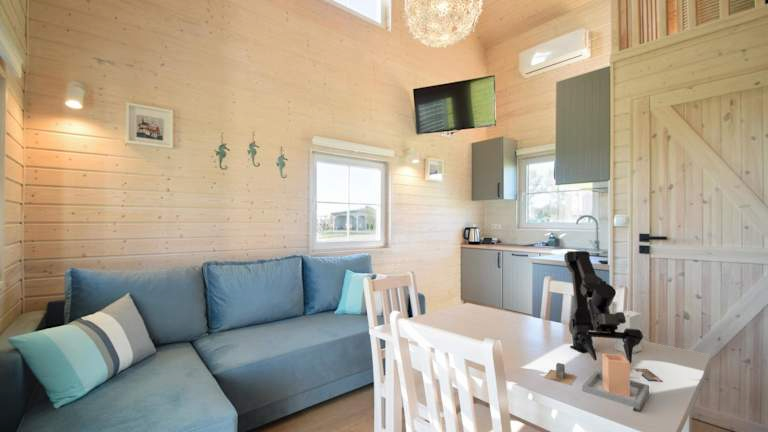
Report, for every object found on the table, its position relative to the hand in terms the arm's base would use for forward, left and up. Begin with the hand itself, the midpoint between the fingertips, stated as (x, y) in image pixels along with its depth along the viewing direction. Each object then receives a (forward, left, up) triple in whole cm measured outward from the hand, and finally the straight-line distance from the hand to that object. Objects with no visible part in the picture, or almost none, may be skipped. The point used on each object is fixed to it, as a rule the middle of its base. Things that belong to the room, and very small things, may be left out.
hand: (612, 361), depth 107 cm
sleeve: (+2, -1, -8) cm, 8 cm away
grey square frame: (+2, -1, -9) cm, 9 cm away
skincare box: (-23, +33, -9) cm, 41 cm away
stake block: (-10, -10, -9) cm, 17 cm away
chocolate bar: (-5, +20, -9) cm, 23 cm away
